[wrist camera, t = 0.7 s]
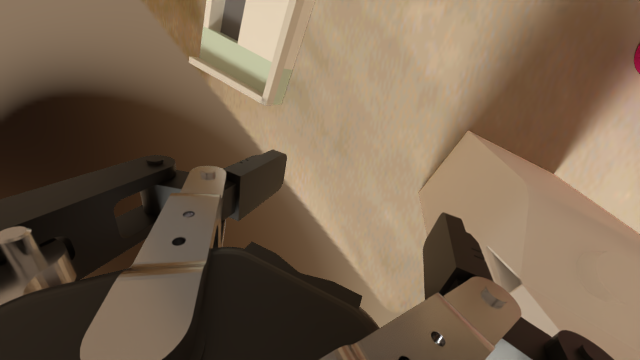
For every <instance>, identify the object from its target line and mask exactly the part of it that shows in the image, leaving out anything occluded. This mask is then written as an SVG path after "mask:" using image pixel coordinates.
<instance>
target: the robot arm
mask: <svg viewBox="0 0 640 360" xmlns="http://www.w3.org/2000/svg"><path fill="white" fill-rule="evenodd" d="M286 161H287V156H286V154H284V153H281V152H278V151H275V150H270V151H268V152H266V153H264V154H262V155H255V156H251V157H249V158H247V159H245V160H242V161H240V162H237V163H235V164H233V165H231V166H228V167H226V168H224V169H222V168H219V167H214V166H201V167H197V168H194V169H193V170H191V171H190V172H185V171H179V170H176V165H175V160H174V159H172V158H171V157H167V156H161V155H160V156H159V155H154V156H146V157H142V158H138V159H135V160H132V161H128V162H125V163H122V164H119V165H115V166H112V167H108V168H105V169H101V170H98V171H95V172H91V173H88V174H85V175H81V176H78V177H75V178H71V179H68V180H65V181H61V182H58V183H55V184H51V185H48V186H45V187H41V188H38V189H35V190H31V191H28V192H24V193H21V194H18V195H14V196H11V197H8V198H4V199H1V200H0V360H614V359H613V358H612V357H611V356H610V355H609V354H607V353H606V352H605V351H604V350H603V349H601V348H600V347H599V346H597V345H596V344H595V343H593V342H592V341H590V340H588V339H587V338H585V337H583V336H581V335H579V334H577V333H575V332H572V331H568V330H561V331H559V332H558V333H557V334H556V335H554V336H553V337H551V336H550V335H548V334H547V333H545V332H544V331H542V330H540V329H539V328H537V327H536V326H534V325H533V324H531V323H530V322H528V321H527V320H525V319H524V318H522V317H521V309H520V307H519V305H518V303H517V302H516V300H515V299H514V298H513V297H512V296H511V295H510V294H509V293H508V292H507V291H506V290H505V289H503V288H502V287H501V286H499V285H498V284H496V283H495V282H494V281H493V278H492V276H491V273H490V271H489V268H488V266H487V263H486V261H485V258H484V255H483V254H482V250H481V248H480V245H479V243H478V242H477V241H476V239H475V238H474V237H473V236H472V235H471V234H470V233H467V232H466V230H465V227H464V224H463V221H462V219H461V218H458V217H455V216H452V215H450V214H447V213H444V212H443V213H441V214H440V216H439V217H438V219H437V221H436V223H435V224H434V226H433V228H432V230H431V231H430V233H429V235H428V237H427V239H426V241H425V244H424V247H423V263H424V289H425V300H424V301H423V302H421V303H420V304H418V305H416V306H415V307H413V308H412V309H410V310H408V311H407V312H405V313H404V314H402V315H400V316H399V317H397V318H396V319H394V320H392V321H391V322H389V323H388V324H386V325H384V326H383V327H381V328H379V327H378V325H377V324H376V323H375V321H374V320H373V319H372V318H371V317H370V316H369V315H368V314H367V313H366V312H365V311H364V310H363V309H362V308H361V307H359V306H360V303H361V299H362V296H361V295H359V294H357V293H355V292H353V291H351V290H349V289H347V288H345V287H343V286H341V285H339V284H337V283H335V282H332V281H329V280H325V279H321V278H317V277H313V276H309V275H305V274H302V273H299V272H298V271H297V270H295V269H294V268H293V267H292V266H290V265H289V264H288V263H287V262H286V261H284V260H283V259H282V258H281V257H280V256H279V255H277V254H276V253H274V252H272V251H270V250H268V249H266V248H264V247H262V246H260V245H258V244H256V243H254V242H251V243H250V244H249V245H248V246H247V247H246V248H245V249H243V248H237V247H222V245H223V238H224V231H225V219H226V218H228V217H230V218H232V219H235V220H237V221H239V220H241V219H242V218H243V217H245V216H246V215H247V214H248V213H250V212H251V211H252V210H254V209H255V208H256V207H257V206H259V205H260V204H261V203H263V202H264V201H265V200H267V199H268V198H269V197H271V196H272V195H273V194H274V193H276V192H277V191H278V190H279V189H280V188H281V186H282V184H283V180H284V174H285V167H286ZM137 192H140V194H141V199H142V204H143V205H141V206H139V207H137V208H135V209H133V210H131V211H129V212H127V213H125V214H123V215H121V216H119V217H116V218H115V215H114V207H115V205H116V204H117V203H118V202H119V201H120V200H121V199H124V198H126V197H128V196H131V195H133V194H135V193H137ZM146 238H147V239H146ZM144 239H146V241H145V243H144V245H143V246H142V248H141V250H140V252H139V254H138V256H137V258H136V259H135V261H134V263H133V265H132V266H131V267H130V268H128V269H124V270H120V271H116V272H112V273H108V274H103V275H99V276H95V277H91V278H87V279H82V278H84V277H85V276H87V275H88V274H90V273H92V272H93V271H95V270H96V269H98V268H100V267H101V266H103V265H104V264H106V263H108V262H109V261H111V260H112V259H114V258H116V257H117V256H119V255H120V254H122V253H123V252H125V251H126V250H128V249H130V248H132V247H133V246H135V245H137V244H138V243H140V242H141V241H143V240H144ZM80 279H82V280H80Z"/></svg>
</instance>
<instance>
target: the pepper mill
mask: <svg viewBox="0 0 640 360" xmlns="http://www.w3.org/2000/svg"><path fill="white" fill-rule="evenodd" d="M634 64H635V68H636V70H637V71H638V72H639V74H640V45H639V46H638V48H637V50H636V53H635V58H634Z"/></svg>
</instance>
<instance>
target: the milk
mask: <svg viewBox="0 0 640 360" xmlns="http://www.w3.org/2000/svg"><path fill="white" fill-rule="evenodd" d="M419 198H420V203H421V208H422V213H423V218H424V223H425V228H426V233H427V237H428V235H429V233H430V231H431V230H432V228H433V226H434V224H435V223H436V221H437V219H438V217H439V216H440V214H441V213H443V212H444V213H447V214H450V215H452V216H455V217H458V218H461V219H462V221H463V224H464V227H465V230H466V232H467V233H470V234H471V235H472V236H473V237H474V238H475V239H476V241H477V242H478V243H479V245H480V248H481V250H482V254H483V255H484V258H485V261H486V263H487V266H488V268H489V271H490V273H491V276H492V278H493V281H494V282H495V283H496V284H498V285H499V286H501V287H502V288H503V289H505V290H506V291H507V292H508V293H509V294H510V295H511V296H512V297H513V298H514V299H515V300H516V302H517V303H518V305H519V307H520V309H521V317H522V318H524V319H525V320H527V321H528V322H530V323H531V324H533V325H534V326H536V327H537V328H539V329H540V330H542V331H544V332H545V333H547V334H548V335H550V336H551V337H553V336H554V335H556V334H557V333H558V332H559V331H561V330H568V331H572V332H575V333H577V334H579V335H581V336H583V337H585V338H587V339H588V340H590V341H592V342H593V343H595V344H596V345H597V346H599V347H600V348H601V349H603V350H604V351H605V352H606V353H607V354H609V355H610V356H611V357H612V358H613V359H614V360H640V234H639V233H637V232H636V231H635V230H633V229H632V228H630V227H629V226H627V225H626V224H625V223H623V222H622V221H620V220H619V219H617V218H616V217H615V216H613V215H612V214H610V213H609V212H607V211H606V210H604V209H603V208H602V207H600V206H599V205H597V204H596V203H594V202H593V201H592V200H590V199H589V198H587V197H586V196H584V195H583V194H582V193H580V192H579V191H577V190H576V189H574V188H573V187H572V186H570V185H569V184H567V183H566V182H564V181H563V180H562V179H560V178H559V177H557V176H556V175H554V174H553V173H551V172H549V171H547V170H545V169H543V168H541V167H539V166H537V165H535V164H533V163H531V162H529V161H527V160H525V159H523V158H521V157H519V156H517V155H515V154H513V153H511V152H510V151H508V150H506V149H504V148H502V147H500V146H498V145H496V144H494V143H492V142H490V141H488V140H486V139H484V138H482V137H480V136H478V135H476V134H474V133H472V132H470V131H467V132H466V134H465V135H464V136H463V138H462V139H461V140H460V141H459V143H458V144H457V145H456V146H455V148H454V149H453V150H452V151H451V153H450V154H449V155H448V156H447V158H446V159H445V160H444V161H443V163H442V164H441V165H440V166H439V168H438V169H437V170H436V171H435V173H434V174H433V175H432V176H431V178H430V179H429V180H428V181H427V183H426V184H425V185H424V186H423V188H422V189H421V190H420V191H419Z"/></svg>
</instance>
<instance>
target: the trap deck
mask: <svg viewBox="0 0 640 360" xmlns="http://www.w3.org/2000/svg"><path fill="white" fill-rule="evenodd" d="M314 3H315V0H207V1H206V9H205V17H204V25H203V33H202V41H201V49H200V57H199V58H197V57H191V56H190V57H189V63H191V64H192V65H194V66H196V67H198V68H199V69H201V70H203V71H205V72H206V73H208V74H210V75H212V76H213V77H215V78H217V79H219V80H221V81H222V82H224V83H226V84H228V85H229V86H231V87H233V88H235V89H236V90H238V91H240V92H242V93H243V94H245V95H247V96H249V97H250V98H252V99H254V100H256V101H257V102H259V103H261V104H263V105H264V106H271V105H280V104H282V101H283V98H284V95H285V92H286V89H287V86H288V83H289V80H290V77H291V74H292V71H293V67H294V64H295V61H296V58H297V55H298V52H299V49H300V46H301V43H302V40H303V37H304V34H305V31H306V27H307V24H308V21H309V18H310V15H311V12H312V9H313V6H314Z"/></svg>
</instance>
